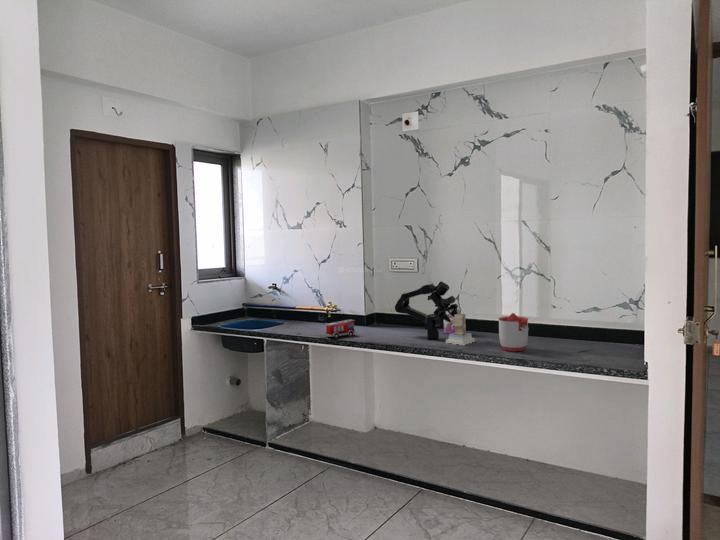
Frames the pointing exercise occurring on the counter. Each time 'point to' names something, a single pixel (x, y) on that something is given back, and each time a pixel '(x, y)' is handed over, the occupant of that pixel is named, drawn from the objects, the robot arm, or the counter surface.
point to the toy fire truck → (340, 328)
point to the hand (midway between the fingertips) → (454, 320)
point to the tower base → (460, 339)
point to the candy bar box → (450, 323)
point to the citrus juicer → (513, 332)
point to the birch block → (460, 324)
